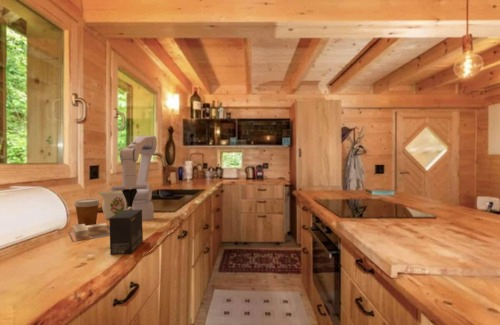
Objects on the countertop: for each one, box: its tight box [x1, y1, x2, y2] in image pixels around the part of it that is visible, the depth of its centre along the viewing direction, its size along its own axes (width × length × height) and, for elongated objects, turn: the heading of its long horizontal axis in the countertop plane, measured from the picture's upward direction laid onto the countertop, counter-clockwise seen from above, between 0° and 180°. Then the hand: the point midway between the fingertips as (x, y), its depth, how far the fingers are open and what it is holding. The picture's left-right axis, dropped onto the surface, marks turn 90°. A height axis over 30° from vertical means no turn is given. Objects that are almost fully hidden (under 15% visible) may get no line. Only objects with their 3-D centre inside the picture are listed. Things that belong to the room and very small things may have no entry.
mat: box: [67, 225, 110, 243], centre depth 108 cm, size 21×16×1 cm
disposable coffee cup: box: [74, 198, 101, 226], centre depth 117 cm, size 10×10×12 cm
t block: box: [72, 222, 108, 240], centre depth 106 cm, size 11×12×3 cm
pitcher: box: [97, 190, 132, 220], centre depth 136 cm, size 11×18×14 cm, turn 139°
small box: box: [108, 209, 144, 256], centre depth 91 cm, size 13×7×12 cm, turn 7°
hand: (129, 206), depth 116 cm, fingers closed
